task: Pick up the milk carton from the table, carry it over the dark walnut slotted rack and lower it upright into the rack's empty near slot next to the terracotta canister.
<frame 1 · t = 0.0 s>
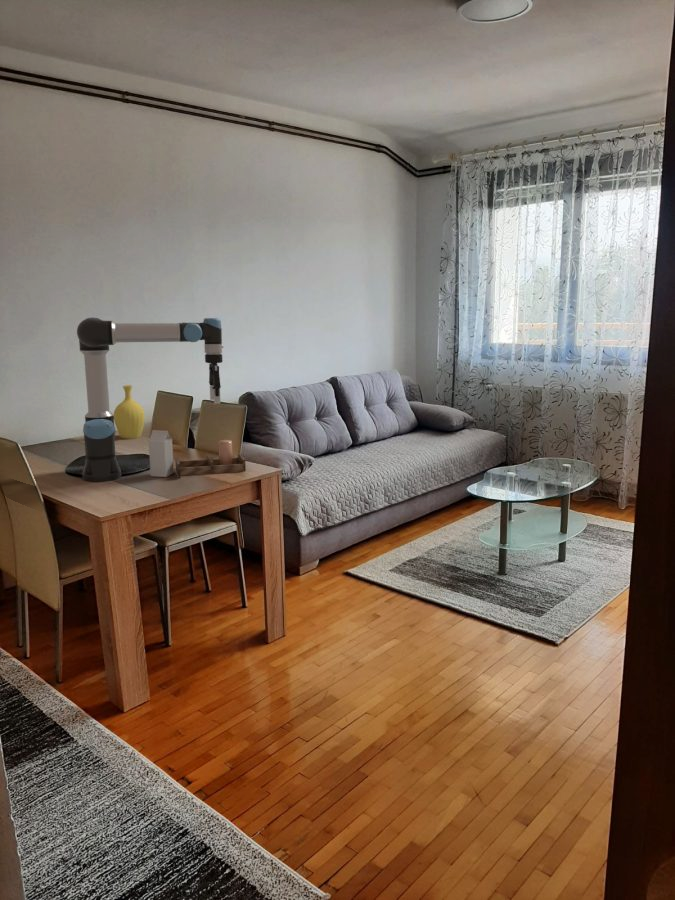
hand: (215, 401, 295), 28 cm above the table, fingers open, 13 cm apart
milk carton: (162, 475, 278), on the table
rack: (210, 472, 283), on the table
canister: (226, 468, 285), point 1 cm above the table, touching rack
vase: (130, 437, 361), on the table
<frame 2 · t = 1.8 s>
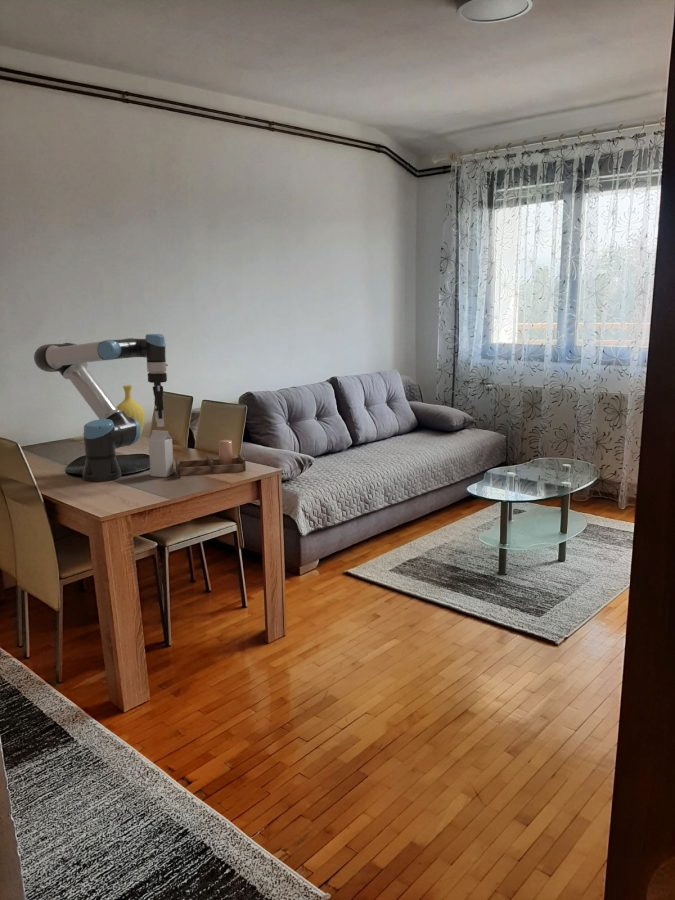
hand: (159, 423, 274), 22 cm above the table, fingers open, 13 cm apart
nothing on the table moved.
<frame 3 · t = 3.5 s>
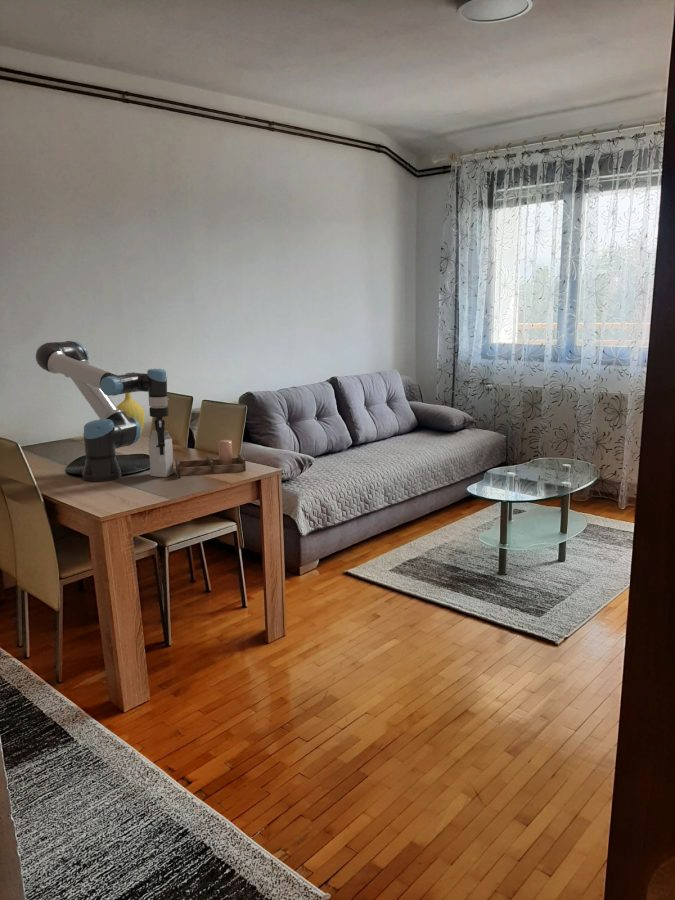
hand: (161, 459, 277), 7 cm above the table, fingers closed on milk carton, 9 cm apart
milk carton: (162, 475, 278), on the table, touching gripper
everything else where it was.
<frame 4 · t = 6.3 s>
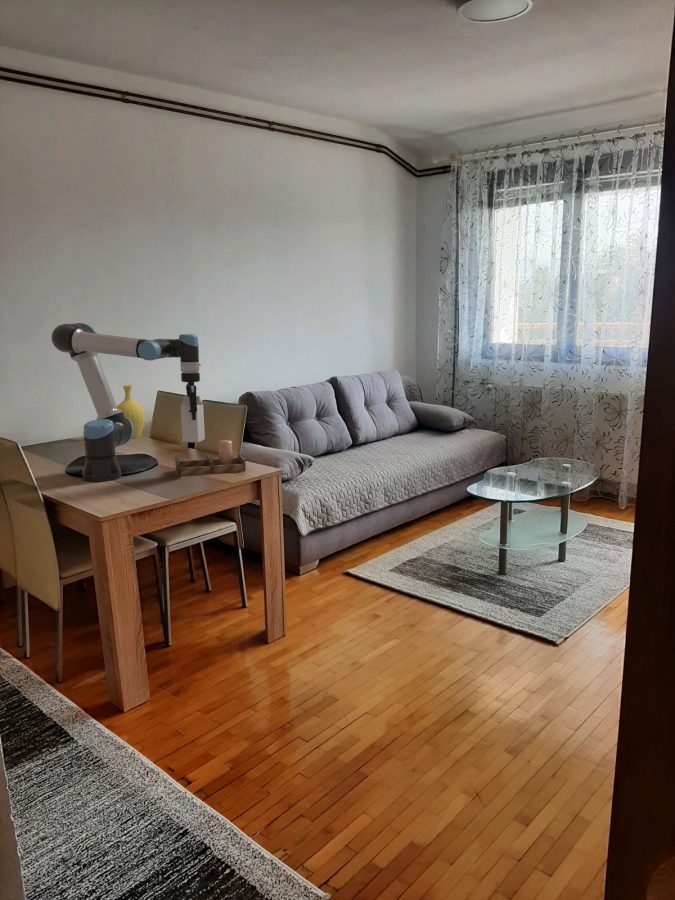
hand: (193, 425, 277), 21 cm above the table, fingers closed on milk carton, 9 cm apart
milk carton: (193, 441, 278), point 14 cm above the table, touching gripper
everything else where it was.
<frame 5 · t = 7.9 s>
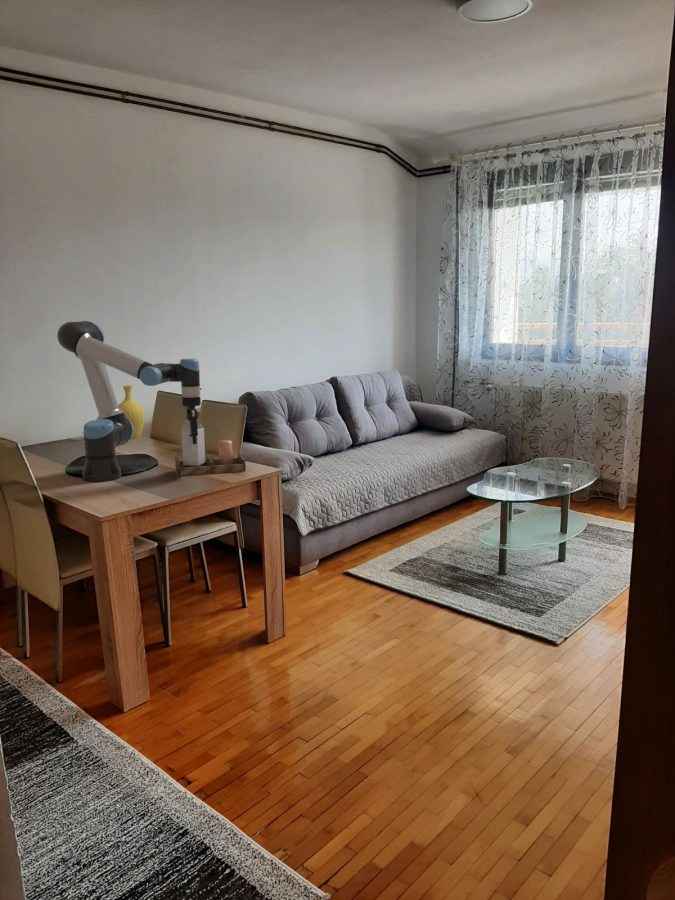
hand: (193, 448, 279), 11 cm above the table, fingers closed on milk carton, 9 cm apart
milk carton: (194, 464, 280), point 4 cm above the table, touching gripper
everything else where it was.
when the fingers open (9 cm above the table, at t = 8.9 s): milk carton stays where it is, resting on rack.
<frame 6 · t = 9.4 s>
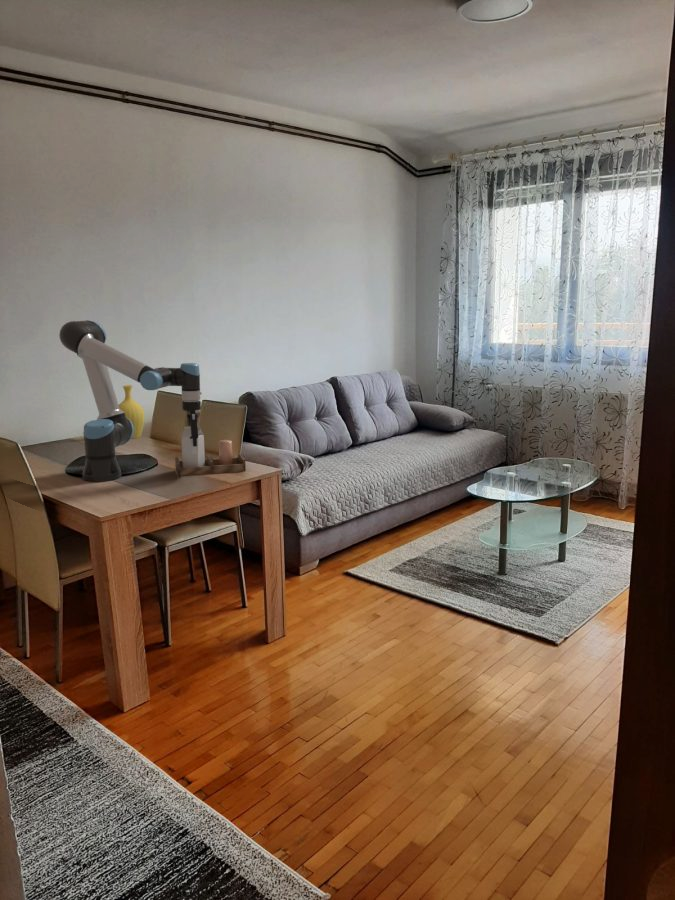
hand: (193, 450, 279), 10 cm above the table, fingers open, 13 cm apart
milk carton: (194, 470, 281), point 1 cm above the table, touching rack
everything else where it was.
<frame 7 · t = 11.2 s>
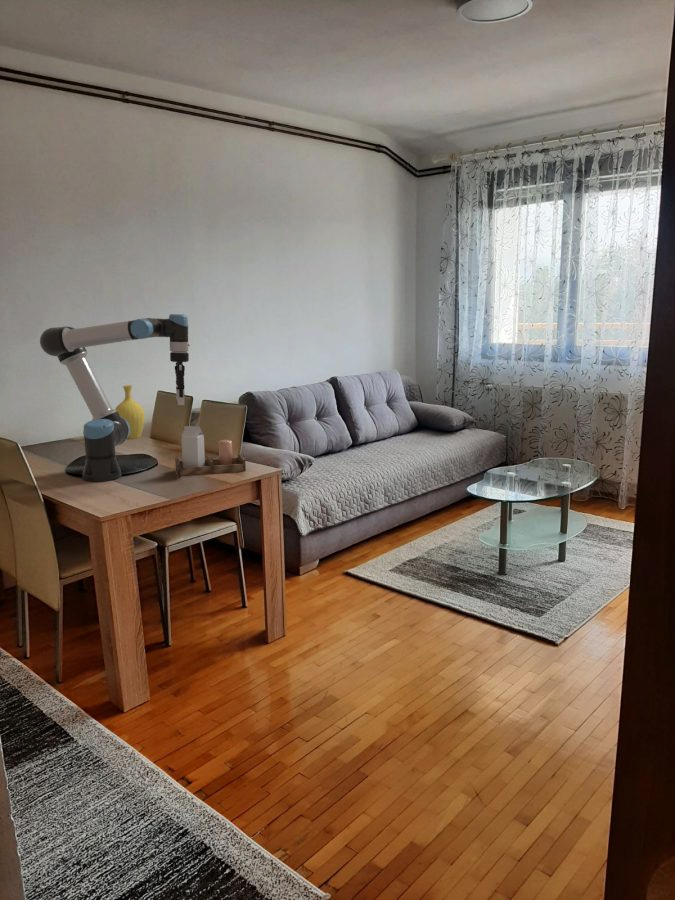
hand: (180, 402, 279), 30 cm above the table, fingers open, 13 cm apart
nothing on the table moved.
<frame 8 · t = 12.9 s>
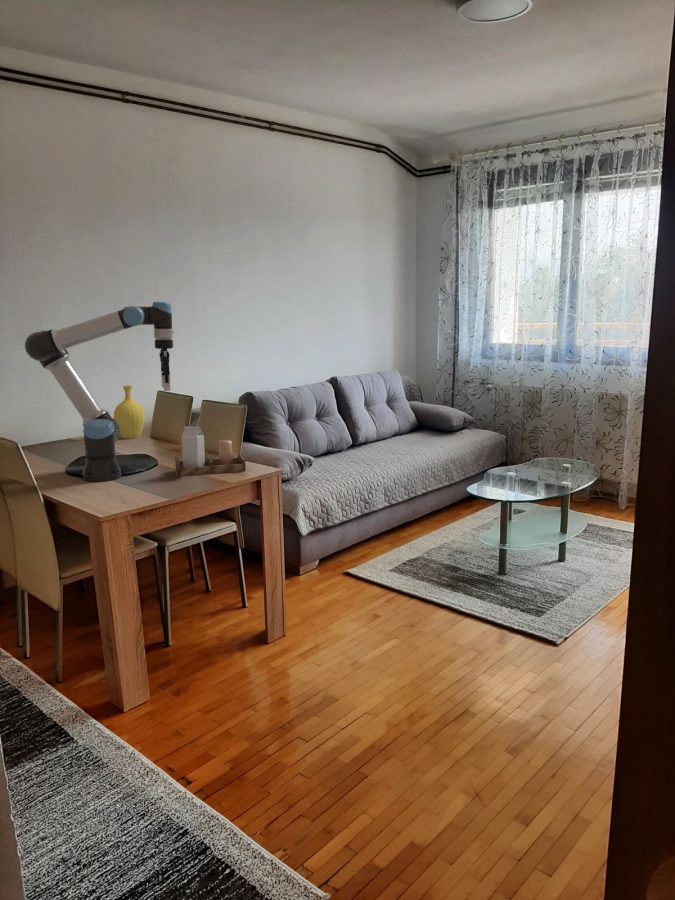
hand: (166, 389, 284), 35 cm above the table, fingers open, 13 cm apart
nothing on the table moved.
at the end: milk carton inside the target area on the rack (0.0 cm from its centre), point 1.0 cm above the rack's base; milk carton tilted 0°; the gripper is holding nothing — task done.
